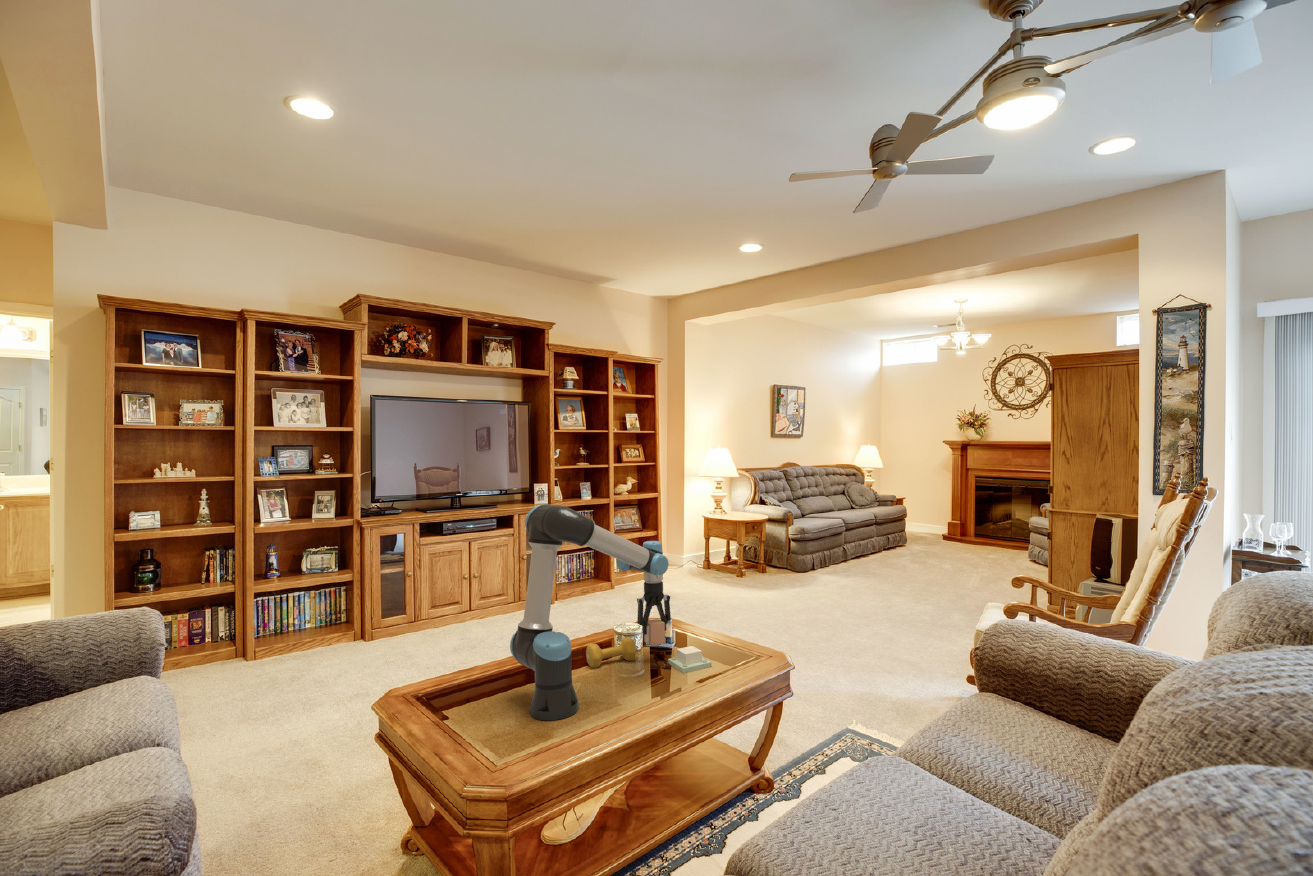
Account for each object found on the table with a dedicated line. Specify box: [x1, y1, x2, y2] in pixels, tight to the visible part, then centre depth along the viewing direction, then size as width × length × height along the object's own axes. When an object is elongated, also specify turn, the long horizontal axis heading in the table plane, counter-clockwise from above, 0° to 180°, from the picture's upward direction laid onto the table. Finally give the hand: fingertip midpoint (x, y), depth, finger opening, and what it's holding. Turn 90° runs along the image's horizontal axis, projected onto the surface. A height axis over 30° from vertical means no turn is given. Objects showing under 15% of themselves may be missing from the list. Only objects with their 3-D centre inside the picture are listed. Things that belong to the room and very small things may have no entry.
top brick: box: [644, 618, 666, 647], centre depth 235 cm, size 6×6×8 cm
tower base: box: [667, 645, 712, 674], centre depth 228 cm, size 12×12×6 cm
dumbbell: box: [585, 636, 637, 669], centre depth 234 cm, size 19×9×8 cm, turn 114°
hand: (654, 641), depth 235 cm, fingers closed on top brick, 6 cm apart
